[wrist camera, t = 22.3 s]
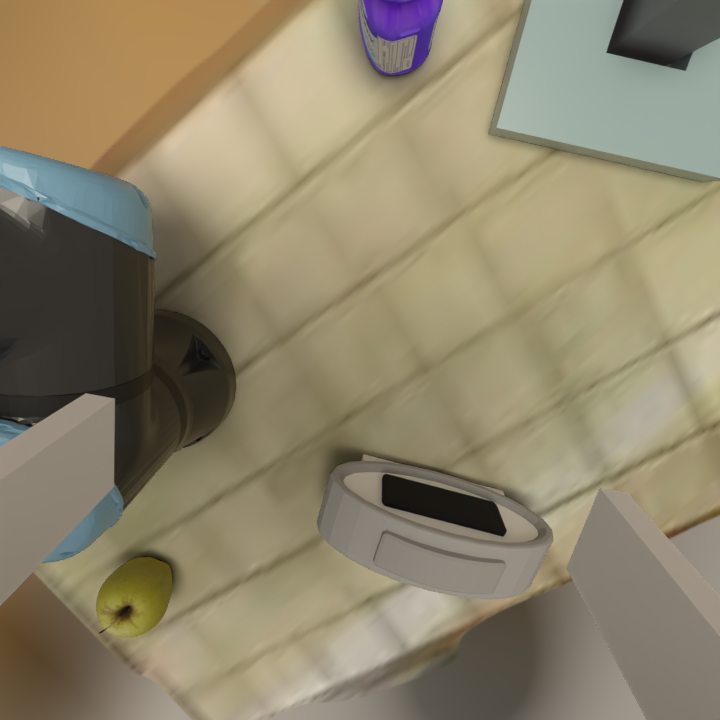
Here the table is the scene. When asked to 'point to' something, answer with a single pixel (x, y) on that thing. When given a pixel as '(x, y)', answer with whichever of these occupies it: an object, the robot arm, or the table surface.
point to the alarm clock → (432, 529)
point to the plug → (664, 29)
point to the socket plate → (608, 94)
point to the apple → (134, 597)
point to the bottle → (398, 32)
